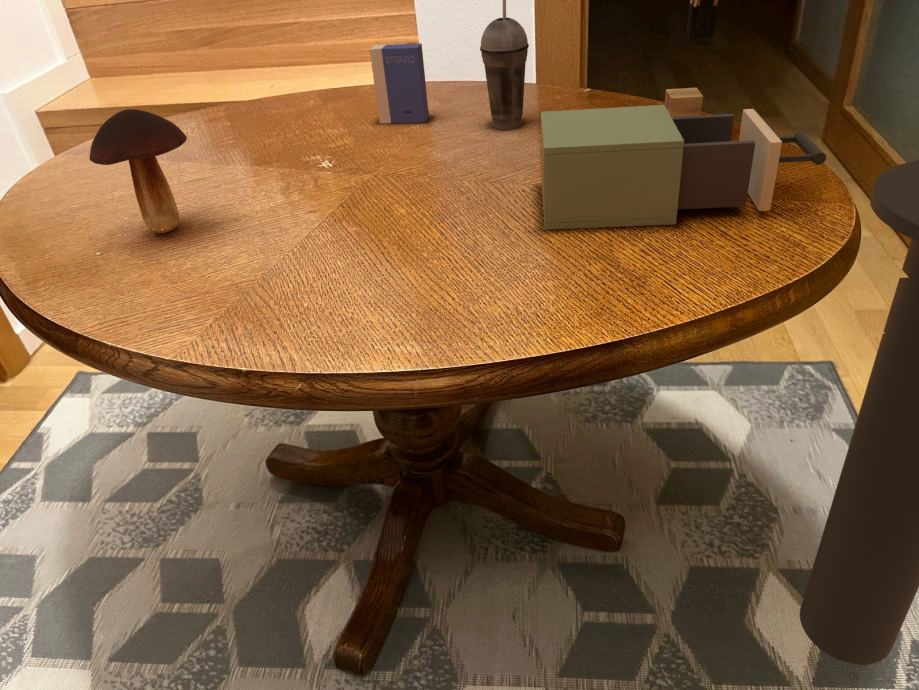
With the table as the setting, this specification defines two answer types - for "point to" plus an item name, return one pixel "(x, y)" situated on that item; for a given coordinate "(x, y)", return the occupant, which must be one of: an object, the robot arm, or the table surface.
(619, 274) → the table surface
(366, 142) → the table surface
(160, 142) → the decorative mushroom
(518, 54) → the beverage cup
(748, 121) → the drawer
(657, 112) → the cabinet
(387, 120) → the walkman
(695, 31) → the robot arm
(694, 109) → the block
